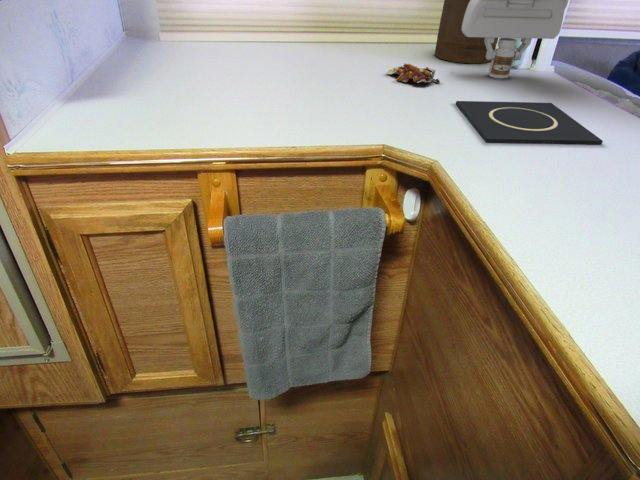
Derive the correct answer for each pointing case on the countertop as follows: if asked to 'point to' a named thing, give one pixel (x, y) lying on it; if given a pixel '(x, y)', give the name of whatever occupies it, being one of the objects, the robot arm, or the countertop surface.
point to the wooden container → (459, 37)
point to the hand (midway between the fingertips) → (502, 59)
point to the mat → (525, 123)
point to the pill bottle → (503, 58)
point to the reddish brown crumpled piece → (413, 73)
